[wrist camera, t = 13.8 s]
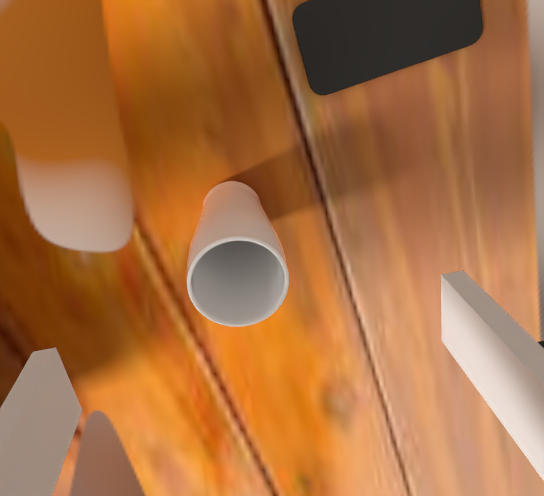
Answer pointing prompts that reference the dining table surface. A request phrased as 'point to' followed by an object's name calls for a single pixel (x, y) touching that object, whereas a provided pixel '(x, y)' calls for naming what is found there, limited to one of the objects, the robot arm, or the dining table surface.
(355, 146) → the dining table surface
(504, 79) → the dining table surface
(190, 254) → the drinking glass
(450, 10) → the phone
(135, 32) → the dining table surface
